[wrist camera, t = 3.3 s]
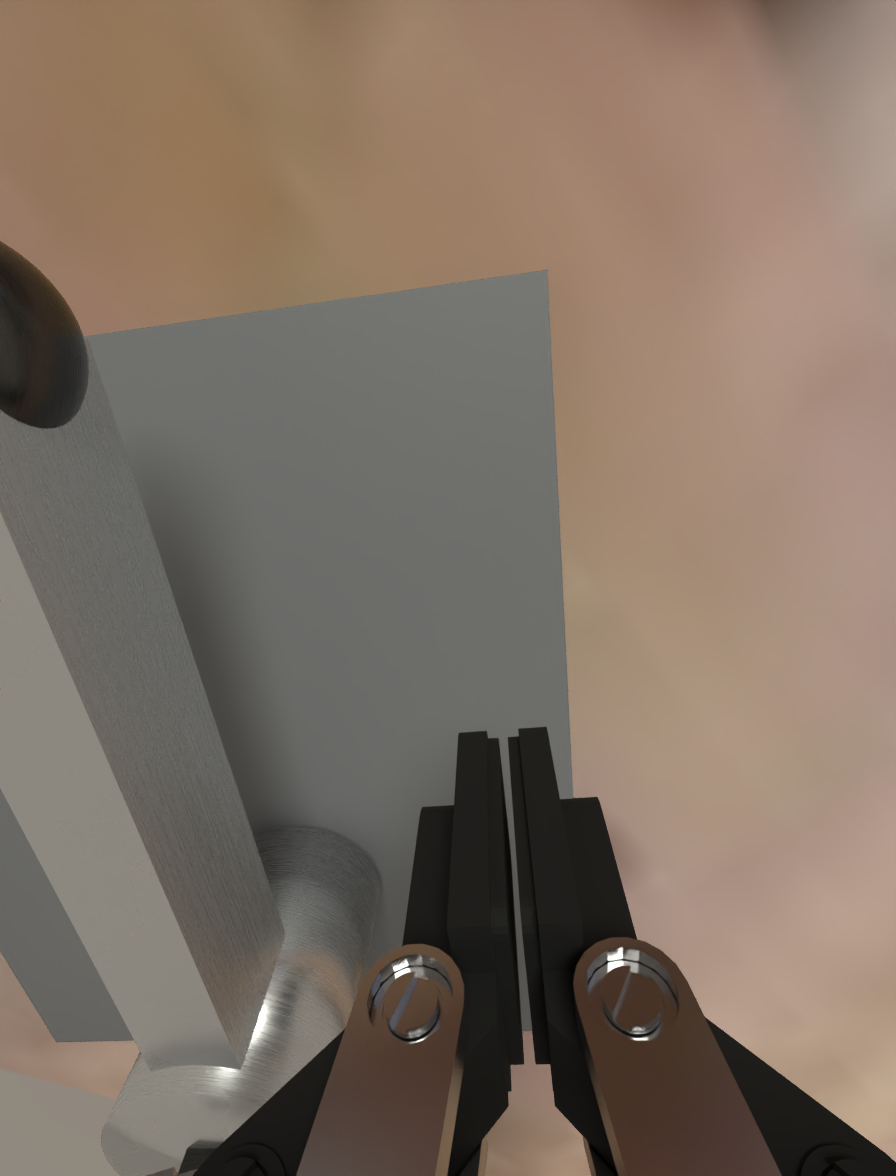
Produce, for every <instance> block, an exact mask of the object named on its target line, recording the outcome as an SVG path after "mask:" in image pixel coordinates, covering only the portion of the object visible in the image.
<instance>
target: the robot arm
mask: <svg viewBox="0 0 896 1176" xmlns="http://www.w3.org/2000/svg"><path fill="white" fill-rule="evenodd" d="M518 733H519V736H517V737H508V749H509V763H510V777H511V791H512V805H513V819H514V833H515V846H516V860H517V874H518V888H519V902H520V914H521V926H522V937H523V946H524V956H525V966H526V975H527V985H528V995H529V1004H530V1014H531V1023H532V1033H533V1043H534V1052H535V1062H536V1064H550V1065H551V1075H552V1085H553V1091H554V1100H555V1106H556V1107H557V1108H558V1109H559V1111H560V1112H561V1113H562V1114H563V1115H564V1116H565V1117H566V1118H567V1119H568V1120H569V1121H570V1122H571V1123H572V1125H573V1126H574V1127H575V1128H576V1129H577V1130H578V1131H579V1132H580V1133H581V1134H582V1135H583V1141H584V1148H585V1152H586V1156H587V1160H588V1164H589V1168H590V1172H591V1176H896V1162H895V1161H894V1160H892V1159H891V1158H890V1157H889V1156H888V1155H887V1154H886V1153H884V1152H883V1151H882V1150H880V1149H879V1148H878V1147H876V1146H875V1145H874V1144H872V1143H871V1142H870V1141H868V1140H867V1139H866V1138H865V1137H863V1136H862V1135H861V1134H859V1133H858V1132H857V1131H855V1130H854V1129H853V1128H851V1127H850V1126H849V1125H847V1124H846V1123H845V1122H843V1121H842V1120H841V1119H839V1118H838V1117H837V1116H835V1115H834V1114H833V1113H831V1112H830V1111H829V1110H827V1109H826V1108H825V1107H823V1106H822V1105H821V1104H819V1103H818V1102H817V1101H815V1100H814V1099H813V1098H811V1097H810V1096H809V1095H807V1094H806V1093H805V1092H804V1091H802V1090H801V1089H800V1088H798V1087H797V1086H796V1085H794V1084H793V1083H792V1082H790V1081H789V1080H788V1079H786V1078H785V1077H784V1076H782V1075H781V1074H780V1073H778V1072H777V1071H776V1070H774V1069H773V1068H772V1067H770V1066H769V1065H768V1064H766V1063H765V1062H764V1061H762V1060H761V1059H760V1058H758V1057H757V1056H756V1055H754V1054H753V1053H752V1052H750V1051H749V1050H748V1049H746V1048H745V1047H744V1046H742V1045H741V1044H740V1043H739V1042H737V1041H736V1040H735V1039H733V1038H732V1037H731V1036H729V1035H728V1034H727V1033H725V1032H724V1031H723V1030H721V1029H720V1028H719V1027H717V1026H716V1025H715V1024H713V1023H712V1022H711V1021H709V1020H708V1019H707V1018H705V1017H704V1015H703V1013H702V1011H701V1009H700V1007H699V1005H698V1003H697V1001H696V998H695V996H694V994H693V992H692V990H691V988H690V986H689V984H688V982H687V980H686V979H685V977H684V976H683V974H682V973H681V971H680V970H679V968H678V967H677V965H676V964H675V963H674V962H673V961H672V960H671V959H670V958H669V957H668V956H667V955H665V954H664V953H663V952H662V951H661V950H659V949H657V948H656V947H654V946H652V945H650V944H648V943H646V942H644V941H641V940H637V938H636V934H635V930H634V927H633V923H632V919H631V915H630V912H629V908H628V904H627V901H626V897H625V893H624V890H623V886H622V882H621V879H620V875H619V871H618V868H617V864H616V860H615V857H614V853H613V849H612V845H611V842H610V838H609V834H608V831H607V827H606V823H605V820H604V816H603V812H602V809H601V805H600V802H599V800H598V798H597V797H589V798H572V799H560V796H559V791H558V785H557V780H556V774H555V769H554V764H553V758H552V753H551V747H550V742H549V736H548V731H547V727H534V728H519V729H518ZM519 1064H524V1054H523V1037H522V1021H521V1005H520V989H519V973H518V957H517V941H516V925H515V909H514V893H513V876H512V861H511V849H510V839H509V830H508V820H507V811H506V801H505V792H504V783H503V773H502V764H501V754H500V745H499V738H488V734H487V731H475V732H461V733H459V734H458V747H457V764H456V780H455V797H454V805H447V806H430V807H422V809H421V812H420V817H419V824H418V832H417V839H416V847H415V854H414V862H413V869H412V877H411V884H410V891H409V899H408V906H407V914H406V921H405V929H404V936H403V943H402V947H399V948H396V949H393V950H391V951H390V952H388V953H387V954H385V955H384V956H382V957H381V958H379V959H378V960H377V961H376V962H375V964H374V965H373V966H372V967H371V968H370V969H369V971H368V972H367V973H366V975H365V977H364V979H363V981H362V983H361V985H360V987H359V989H358V992H357V995H356V998H355V1001H354V1004H353V1007H352V1010H351V1013H350V1016H349V1019H348V1022H347V1025H346V1028H345V1029H344V1030H343V1031H342V1032H341V1033H340V1034H339V1035H338V1036H337V1037H335V1038H334V1039H333V1040H332V1041H331V1042H330V1043H329V1044H328V1045H327V1046H326V1047H325V1048H324V1049H323V1050H322V1051H320V1052H319V1053H318V1054H317V1055H316V1056H315V1057H314V1058H313V1059H312V1060H311V1061H310V1062H309V1063H308V1064H307V1065H305V1066H304V1067H303V1068H302V1069H301V1070H300V1071H299V1072H298V1073H297V1074H296V1075H295V1076H294V1077H293V1078H291V1079H290V1080H289V1081H288V1082H287V1083H286V1084H285V1085H284V1086H283V1087H282V1088H281V1089H280V1090H279V1091H278V1092H276V1093H275V1094H274V1095H273V1096H272V1097H271V1098H270V1099H269V1100H268V1101H267V1102H266V1103H265V1104H264V1105H263V1106H261V1107H260V1108H259V1109H258V1110H257V1111H256V1112H255V1113H254V1114H253V1115H252V1116H251V1117H250V1118H249V1119H248V1120H246V1121H245V1122H244V1123H243V1124H242V1125H241V1126H240V1127H239V1128H238V1129H237V1130H236V1131H235V1132H234V1133H232V1134H231V1135H230V1136H229V1137H228V1138H227V1139H226V1140H225V1141H224V1142H223V1143H222V1144H221V1145H220V1146H219V1147H217V1148H216V1149H215V1150H214V1151H213V1152H212V1153H211V1154H210V1156H209V1157H208V1158H207V1159H206V1160H205V1161H204V1162H203V1164H202V1165H201V1166H200V1167H199V1168H198V1169H195V1170H192V1171H188V1172H185V1173H182V1174H178V1173H177V1171H176V1169H175V1167H172V1168H169V1169H166V1170H163V1171H159V1172H156V1173H153V1174H149V1175H146V1176H485V1169H486V1159H487V1150H488V1132H489V1131H490V1129H491V1128H492V1127H493V1125H494V1124H495V1123H496V1121H497V1120H498V1119H499V1118H500V1116H501V1115H502V1114H503V1112H504V1111H505V1110H506V1109H507V1107H508V1091H511V1069H510V1065H519Z"/></svg>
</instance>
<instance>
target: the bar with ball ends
mask: <svg viewBox="0 0 896 1176" xmlns="http://www.w3.org/2000/svg"><path fill="white" fill-rule="evenodd" d="M0 789H1V791H2V793H3V794H4V796H5V798H6V800H7V802H8V804H9V806H10V808H11V809H12V811H13V813H14V815H15V817H16V819H17V821H18V823H19V825H20V826H21V828H22V830H23V832H24V834H25V836H26V838H27V840H28V841H29V843H30V845H31V847H32V849H33V851H34V853H35V855H36V856H37V858H38V860H39V862H40V864H41V866H42V868H43V870H44V872H45V873H46V875H47V877H48V879H49V881H50V883H51V885H52V887H53V888H54V890H55V892H56V894H57V896H58V898H59V900H60V902H61V903H62V905H63V907H64V909H65V911H66V913H67V915H68V917H69V919H70V920H71V922H72V924H73V926H74V928H75V930H76V932H77V934H78V935H79V937H80V939H81V941H82V943H83V945H84V947H85V949H86V950H87V952H88V954H89V956H90V958H91V960H92V962H93V964H94V966H95V967H96V969H97V971H98V973H99V975H100V977H101V979H102V981H103V982H104V984H105V986H106V988H107V990H108V992H109V994H110V996H111V997H112V999H113V1001H114V1003H115V1005H116V1007H117V1009H118V1011H119V1013H120V1014H121V1016H122V1018H123V1020H124V1022H125V1024H126V1026H127V1028H128V1029H129V1031H130V1033H131V1035H132V1037H133V1039H134V1041H135V1043H136V1044H137V1046H138V1048H139V1050H140V1053H139V1055H138V1058H137V1060H136V1062H135V1064H134V1066H133V1068H132V1070H131V1072H130V1074H129V1076H128V1078H127V1080H126V1082H125V1084H124V1087H123V1089H122V1091H121V1093H120V1095H119V1097H118V1099H117V1101H116V1103H115V1105H114V1107H113V1109H112V1111H111V1114H110V1116H109V1118H108V1120H107V1122H106V1124H105V1126H104V1128H103V1131H102V1135H101V1144H102V1148H103V1152H104V1154H105V1156H106V1158H107V1160H108V1162H109V1163H110V1164H111V1166H112V1167H113V1168H114V1170H115V1171H117V1173H118V1174H120V1175H121V1176H146V1175H149V1174H153V1173H156V1172H159V1171H163V1170H166V1169H169V1168H172V1167H175V1169H176V1171H177V1173H178V1174H182V1173H185V1172H188V1171H192V1170H195V1169H198V1168H199V1167H200V1166H201V1165H202V1164H203V1162H204V1161H205V1160H206V1159H207V1158H208V1157H209V1156H210V1154H211V1153H212V1152H213V1151H214V1150H215V1149H216V1148H217V1147H219V1146H220V1145H221V1144H222V1143H223V1142H224V1141H225V1140H226V1139H227V1138H228V1137H229V1136H230V1135H231V1134H232V1133H234V1132H235V1131H236V1130H237V1129H238V1128H239V1127H240V1126H241V1125H242V1124H243V1123H244V1122H245V1121H246V1120H248V1119H249V1118H250V1117H251V1116H252V1115H253V1114H254V1113H255V1112H256V1111H257V1110H258V1109H259V1108H260V1107H261V1106H263V1105H264V1104H265V1103H266V1102H267V1101H268V1100H269V1099H270V1098H271V1097H272V1096H273V1095H274V1094H275V1093H276V1092H278V1091H279V1090H280V1089H281V1088H282V1087H283V1086H284V1085H285V1084H286V1083H287V1082H288V1081H289V1080H290V1079H291V1078H293V1077H294V1076H295V1075H296V1074H297V1073H298V1072H299V1071H300V1070H301V1069H302V1068H303V1067H304V1066H305V1065H307V1064H308V1063H309V1062H310V1061H311V1060H312V1059H313V1058H314V1057H315V1056H316V1055H317V1054H318V1053H319V1052H320V1051H322V1050H323V1049H324V1048H325V1047H326V1046H327V1045H328V1044H329V1043H330V1042H331V1041H332V1040H333V1039H334V1038H335V1037H337V1036H338V1035H339V1034H340V1033H341V1032H342V1031H343V1030H344V1029H345V1028H346V1025H347V1022H348V1019H349V1016H350V1013H351V1010H352V1007H353V1004H354V1001H355V998H356V995H357V992H358V989H359V987H360V985H361V983H362V981H363V979H364V977H365V973H366V968H367V962H368V956H369V951H370V945H371V940H372V934H373V929H374V923H375V917H376V912H377V906H378V901H379V895H380V883H379V878H378V875H377V872H376V870H375V868H374V866H373V865H372V863H371V862H370V860H369V859H368V858H367V857H366V856H365V854H364V853H363V852H362V851H361V850H359V849H358V848H357V847H356V846H355V845H353V844H352V843H350V842H349V841H347V840H345V839H343V838H341V837H340V836H337V835H335V834H332V833H330V832H327V831H324V830H320V829H316V828H311V827H302V826H286V827H278V828H274V829H269V830H267V831H264V832H261V833H259V834H257V835H255V836H253V834H252V831H251V828H250V825H249V822H248V819H247V816H246V813H245V810H244V807H243V804H242V801H241V798H240V795H239V792H238V789H237V786H236V783H235V780H234V777H233V774H232V771H231V768H230V765H229V762H228V759H227V756H226V753H225V750H224V747H223V744H222V741H221V738H220V734H219V731H218V728H217V725H216V722H215V719H214V716H213V713H212V710H211V707H210V704H209V701H208V698H207V695H206V692H205V689H204V686H203V683H202V680H201V677H200V674H199V671H198V668H197V665H196V662H195V659H194V656H193V653H192V650H191V647H190V644H189V641H188V638H187V635H186V632H185V629H184V626H183V623H182V620H181V617H180V614H179V611H178V608H177V605H176V602H175V599H174V596H173V593H172V590H171V587H170V584H169V581H168V578H167V575H166V572H165V569H164V566H163V563H162V560H161V557H160V554H159V551H158V548H157V545H156V542H155V539H154V536H153V533H152V530H151V527H150V524H149V521H148V518H147V515H146V512H145V509H144V506H143V503H142V499H141V496H140V493H139V490H138V487H137V484H136V481H135V478H134V475H133V472H132V469H131V466H130V463H129V460H128V457H127V454H126V451H125V448H124V445H123V442H122V439H121V436H120V433H119V430H118V427H117V424H116V421H115V418H114V415H113V412H112V409H111V406H110V403H109V400H108V397H107V394H106V391H105V388H104V385H103V382H102V379H101V376H100V373H99V370H98V367H97V364H96V361H95V358H94V355H93V352H92V349H91V346H90V343H89V340H84V337H83V334H82V332H81V329H80V327H79V324H78V322H77V320H76V318H75V316H74V314H73V312H72V310H71V309H70V307H69V305H68V304H67V302H66V301H65V299H64V298H63V297H62V295H61V294H60V293H59V292H58V290H57V289H56V288H55V287H54V285H53V284H52V283H51V282H50V281H49V280H48V279H47V278H46V277H45V276H44V275H43V274H42V273H41V271H40V270H39V269H37V268H36V267H35V266H34V265H33V264H31V263H30V262H29V261H28V260H27V259H25V258H24V257H23V256H21V255H20V254H19V253H18V252H16V251H15V250H13V249H12V248H10V247H9V246H7V245H6V244H4V243H3V242H1V241H0Z"/></svg>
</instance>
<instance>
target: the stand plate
mask: <svg viewBox="0 0 896 1176" xmlns="http://www.w3.org/2000/svg"><path fill="white" fill-rule="evenodd" d="M84 340H89V343H90V346H91V349H92V352H93V355H94V358H95V361H96V364H97V367H98V370H99V373H100V376H101V379H102V382H103V385H104V388H105V391H106V394H107V397H108V400H109V403H110V406H111V409H112V412H113V415H114V418H115V421H116V424H117V427H118V430H119V433H120V436H121V439H122V442H123V445H124V448H125V451H126V454H127V457H128V460H129V463H130V466H131V469H132V472H133V475H134V478H135V481H136V484H137V487H138V490H139V493H140V496H141V499H142V503H143V506H144V509H145V512H146V515H147V518H148V521H149V524H150V527H151V530H152V533H153V536H154V539H155V542H156V545H157V548H158V551H159V554H160V557H161V560H162V563H163V566H164V569H165V572H166V575H167V578H168V581H169V584H170V587H171V590H172V593H173V596H174V599H175V602H176V605H177V608H178V611H179V614H180V617H181V620H182V623H183V626H184V629H185V632H186V635H187V638H188V641H189V644H190V647H191V650H192V653H193V656H194V659H195V662H196V665H197V668H198V671H199V674H200V677H201V680H202V683H203V686H204V689H205V692H206V695H207V698H208V701H209V704H210V707H211V710H212V713H213V716H214V719H215V722H216V725H217V728H218V731H219V734H220V738H221V741H222V744H223V747H224V750H225V753H226V756H227V759H228V762H229V765H230V768H231V771H232V774H233V777H234V780H235V783H236V786H237V789H238V792H239V795H240V798H241V801H242V804H243V807H244V810H245V813H246V816H247V819H248V822H249V825H250V828H251V831H252V834H253V836H255V835H257V834H259V833H261V832H264V831H267V830H269V829H274V828H278V827H286V826H302V827H311V828H316V829H320V830H324V831H327V832H330V833H332V834H335V835H337V836H340V837H341V838H343V839H345V840H347V841H349V842H350V843H352V844H353V845H355V846H356V847H357V848H358V849H359V850H361V851H362V852H363V853H364V854H365V856H366V857H367V858H368V859H369V860H370V862H371V863H372V865H373V866H374V868H375V870H376V872H377V875H378V878H379V883H380V895H379V901H378V906H377V912H376V917H375V923H374V929H373V934H372V940H371V945H370V951H369V956H368V962H367V968H366V973H367V972H368V971H369V969H370V968H371V967H372V966H373V965H374V964H375V962H376V961H377V960H378V959H379V958H381V957H382V956H384V955H385V954H387V953H388V952H390V951H391V950H393V949H396V948H399V947H402V943H403V936H404V929H405V921H406V914H407V906H408V899H409V891H410V884H411V877H412V869H413V862H414V854H415V847H416V839H417V832H418V824H419V817H420V812H421V809H422V807H430V806H447V805H454V797H455V780H456V764H457V747H458V734H459V733H461V732H475V731H487V734H488V738H499V745H500V754H501V764H502V773H503V783H504V792H505V801H506V811H507V820H508V830H509V839H510V849H511V861H512V876H513V893H514V909H515V925H516V941H517V957H518V973H519V989H520V1005H521V1021H522V1031H532V1023H531V1014H530V1004H529V995H528V985H527V975H526V966H525V956H524V946H523V937H522V926H521V914H520V902H519V888H518V874H517V860H516V846H515V833H514V819H513V805H512V791H511V777H510V763H509V749H508V737H517V736H519V733H518V729H519V728H534V727H547V731H548V736H549V742H550V747H551V753H552V758H553V764H554V769H555V774H556V780H557V785H558V791H559V796H560V799H572V798H573V785H572V765H571V744H570V724H569V703H568V683H567V663H566V642H565V622H564V602H563V581H562V561H561V541H560V520H559V500H558V479H557V459H556V439H555V418H554V398H553V378H552V357H551V337H550V317H549V296H548V276H547V270H543V271H536V272H529V273H522V274H515V275H508V276H501V277H494V278H487V279H480V280H473V281H466V282H459V283H452V284H445V285H439V286H432V287H425V288H418V289H411V290H404V291H397V292H390V293H383V294H376V295H369V296H362V297H355V298H348V299H341V300H334V301H328V302H321V303H314V304H307V305H300V306H293V307H286V308H279V309H272V310H265V311H258V312H251V313H244V314H237V315H230V316H223V317H216V318H210V319H203V320H196V321H189V322H182V323H175V324H168V325H161V326H154V327H147V328H140V329H133V330H126V331H119V332H112V333H105V334H99V335H92V336H85V337H84ZM0 952H1V953H2V955H3V956H4V958H5V960H6V961H7V963H8V965H9V966H10V968H11V969H12V971H13V973H14V974H15V976H16V978H17V979H18V981H19V982H20V984H21V986H22V987H23V989H24V990H25V992H26V994H27V995H28V997H29V999H30V1000H31V1002H32V1003H33V1005H34V1007H35V1008H36V1010H37V1012H38V1013H39V1015H40V1016H41V1018H42V1020H43V1021H44V1023H45V1025H46V1026H47V1028H48V1029H49V1031H50V1033H51V1034H52V1036H53V1038H54V1039H55V1041H56V1042H87V1041H127V1040H134V1039H133V1037H132V1035H131V1033H130V1031H129V1029H128V1028H127V1026H126V1024H125V1022H124V1020H123V1018H122V1016H121V1014H120V1013H119V1011H118V1009H117V1007H116V1005H115V1003H114V1001H113V999H112V997H111V996H110V994H109V992H108V990H107V988H106V986H105V984H104V982H103V981H102V979H101V977H100V975H99V973H98V971H97V969H96V967H95V966H94V964H93V962H92V960H91V958H90V956H89V954H88V952H87V950H86V949H85V947H84V945H83V943H82V941H81V939H80V937H79V935H78V934H77V932H76V930H75V928H74V926H73V924H72V922H71V920H70V919H69V917H68V915H67V913H66V911H65V909H64V907H63V905H62V903H61V902H60V900H59V898H58V896H57V894H56V892H55V890H54V888H53V887H52V885H51V883H50V881H49V879H48V877H47V875H46V873H45V872H44V870H43V868H42V866H41V864H40V862H39V860H38V858H37V856H36V855H35V853H34V851H33V849H32V847H31V845H30V843H29V841H28V840H27V838H26V836H25V834H24V832H23V830H22V828H21V826H20V825H19V823H18V821H17V819H16V817H15V815H14V813H13V811H12V809H11V808H10V806H9V804H8V802H7V800H6V798H5V796H4V794H3V793H2V791H1V789H0ZM366 973H365V975H366Z"/></svg>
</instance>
